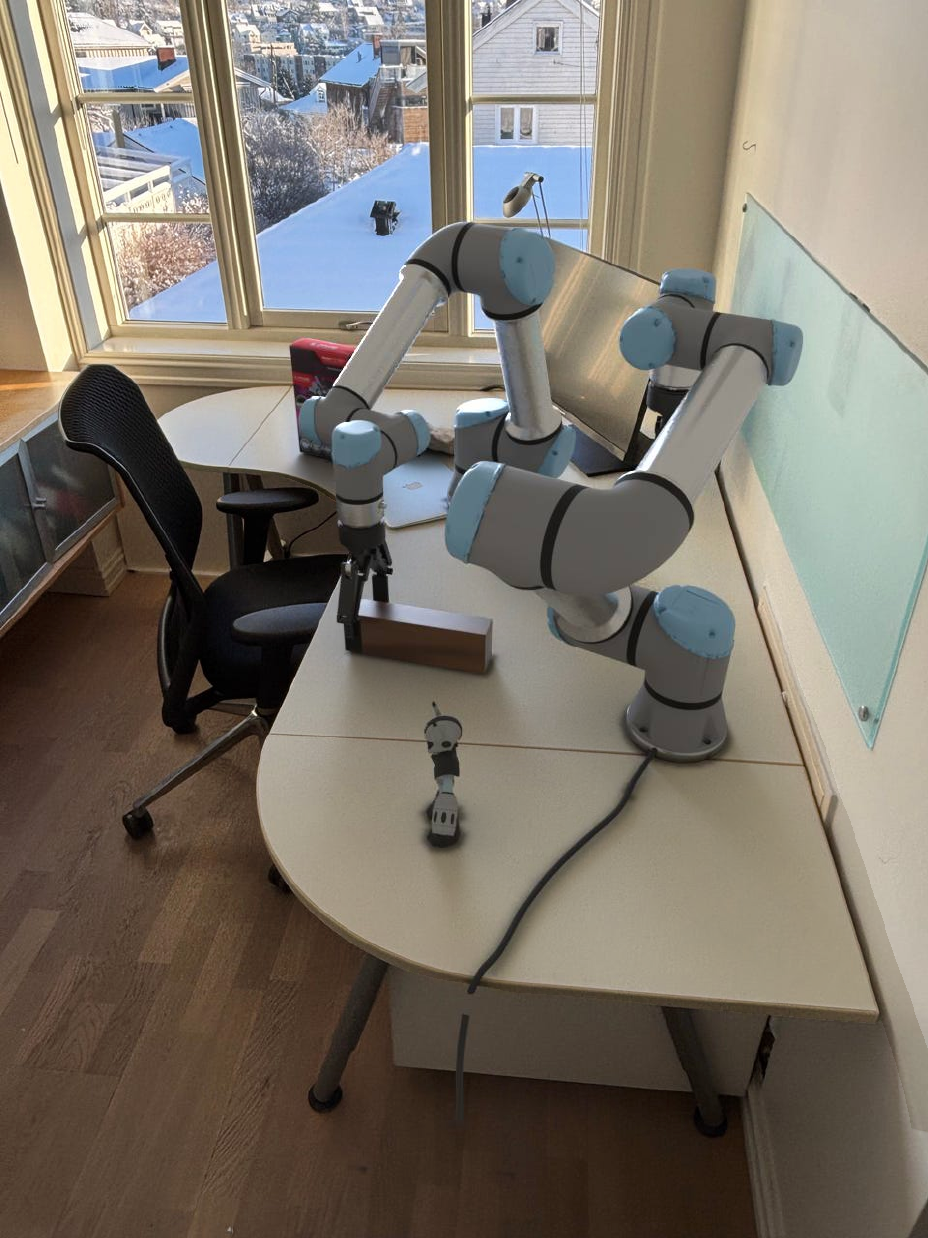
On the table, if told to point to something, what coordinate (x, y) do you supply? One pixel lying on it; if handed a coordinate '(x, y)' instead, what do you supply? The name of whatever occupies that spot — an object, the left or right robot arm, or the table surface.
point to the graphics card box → (315, 379)
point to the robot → (443, 777)
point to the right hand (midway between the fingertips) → (656, 512)
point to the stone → (442, 439)
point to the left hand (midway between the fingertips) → (368, 628)
